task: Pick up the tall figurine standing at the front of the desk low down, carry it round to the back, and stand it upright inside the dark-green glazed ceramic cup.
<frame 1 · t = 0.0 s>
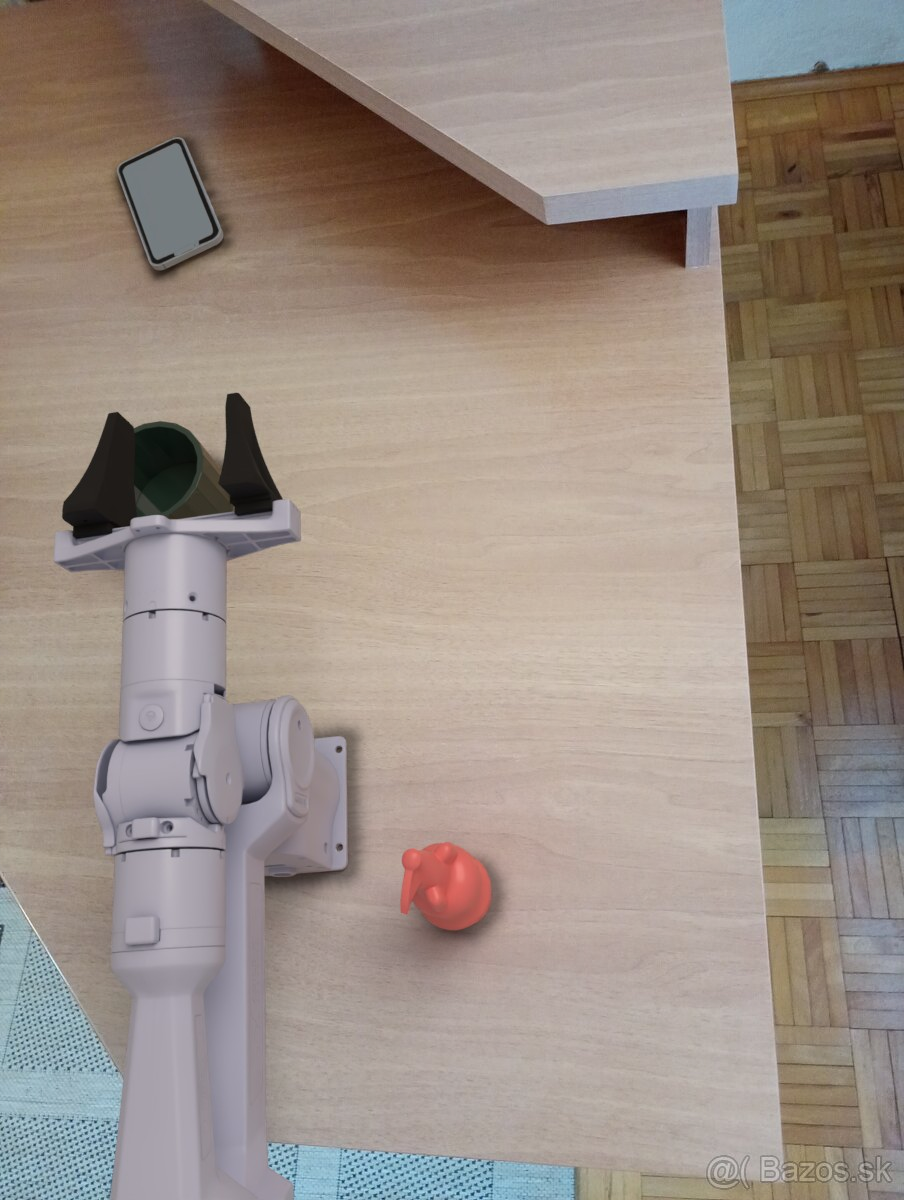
hand: (179, 410, 65), 22 cm above the table, tool horizontal, fingers open, 7 cm apart
figurine: (464, 898, 72), on the table
cup: (183, 508, 89), on the table
smartphone: (171, 207, 102), on the table
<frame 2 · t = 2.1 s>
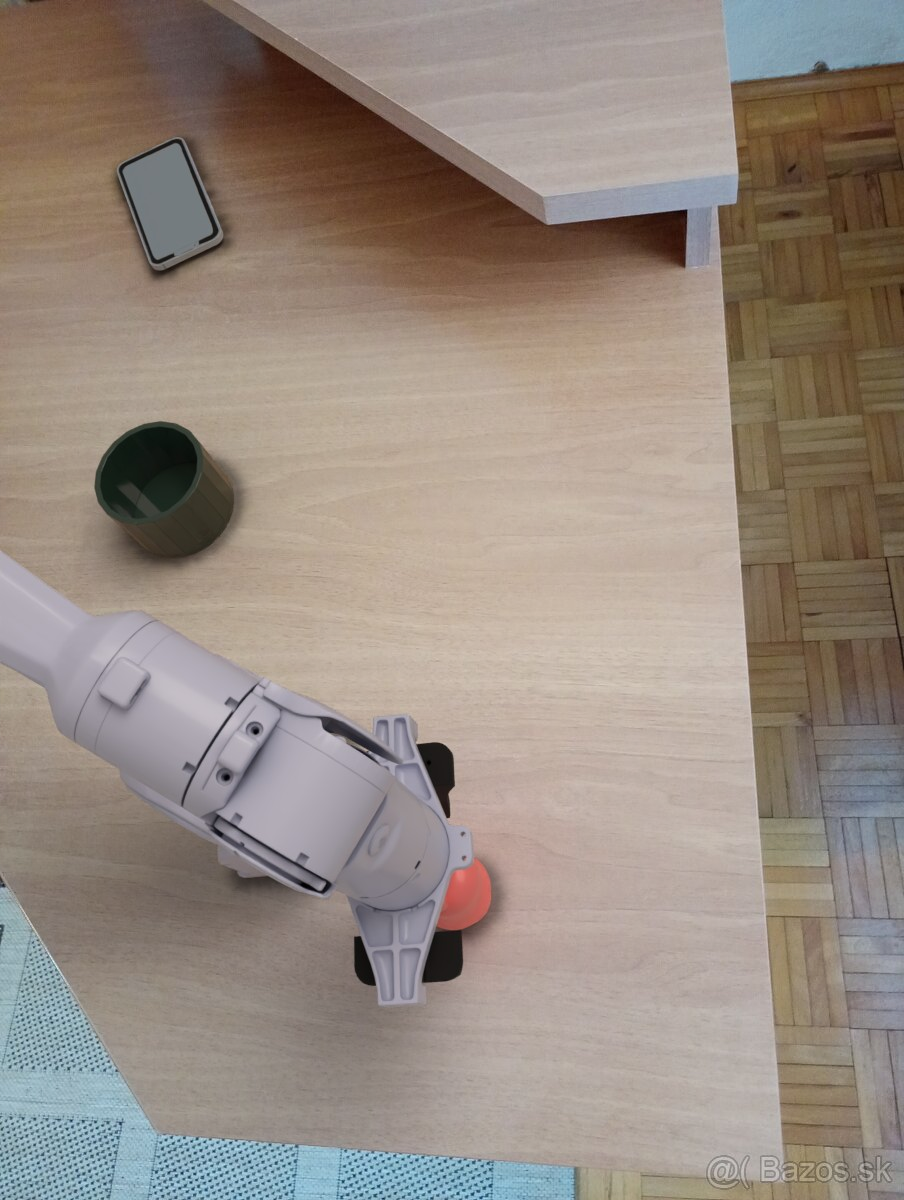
hand: (435, 879, 62), 10 cm above the table, tool pointing down, fingers open, 7 cm apart
nothing on the table moved.
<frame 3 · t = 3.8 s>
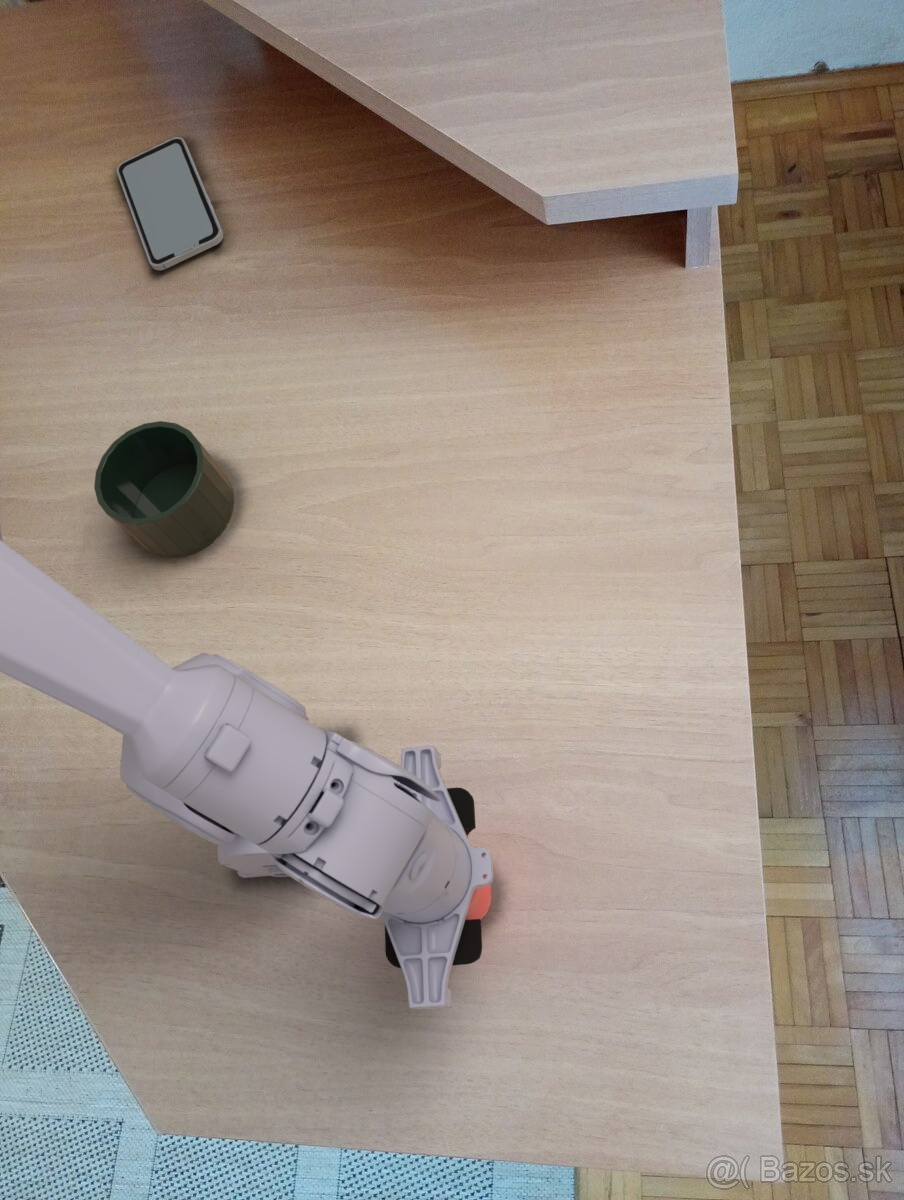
hand: (454, 891, 69), 3 cm above the table, tool pointing down, fingers closed on figurine, 5 cm apart
figurine: (464, 899, 72), on the table, touching gripper
everything else where it was.
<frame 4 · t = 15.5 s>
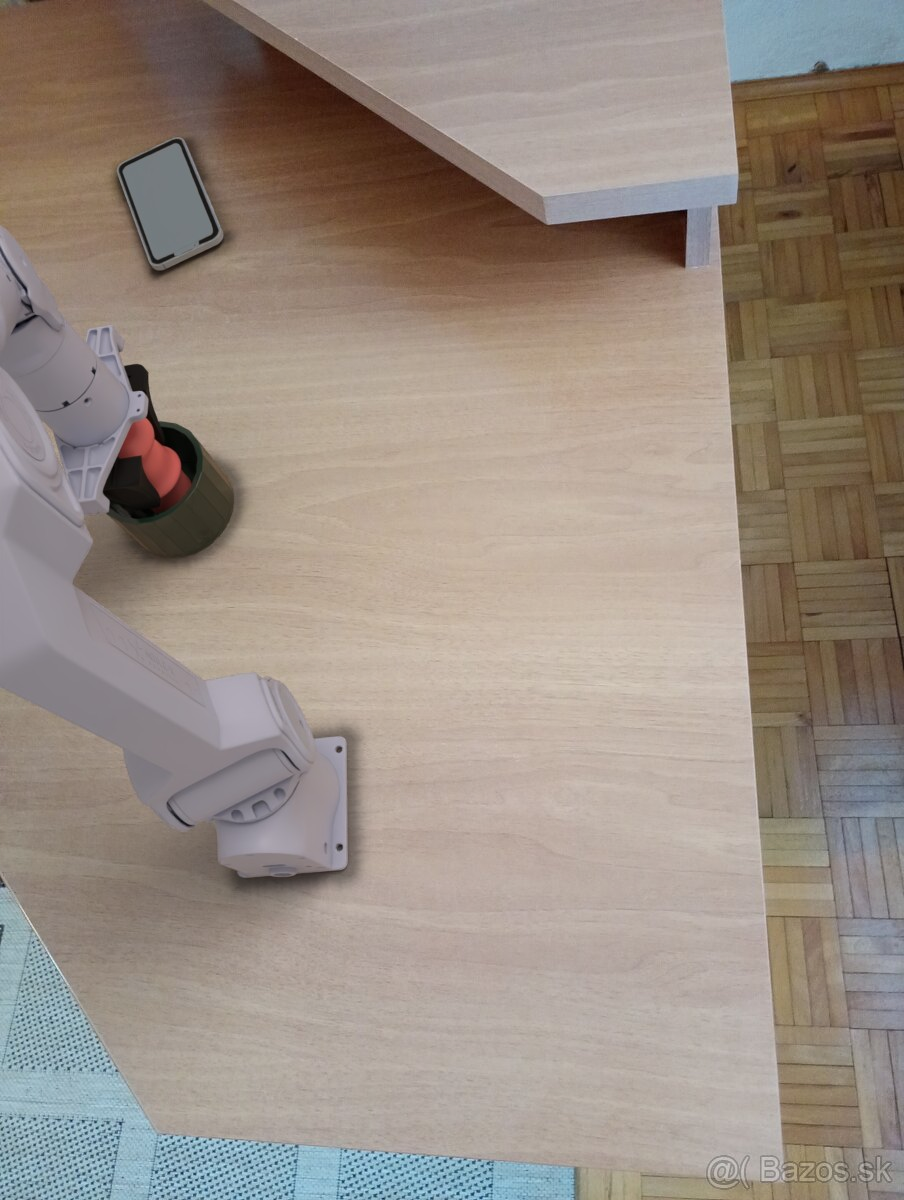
hand: (150, 474, 83), 6 cm above the table, tool pointing down, fingers closed on figurine, 5 cm apart
figurine: (171, 495, 86), point 3 cm above the table, touching gripper
everything else where it was.
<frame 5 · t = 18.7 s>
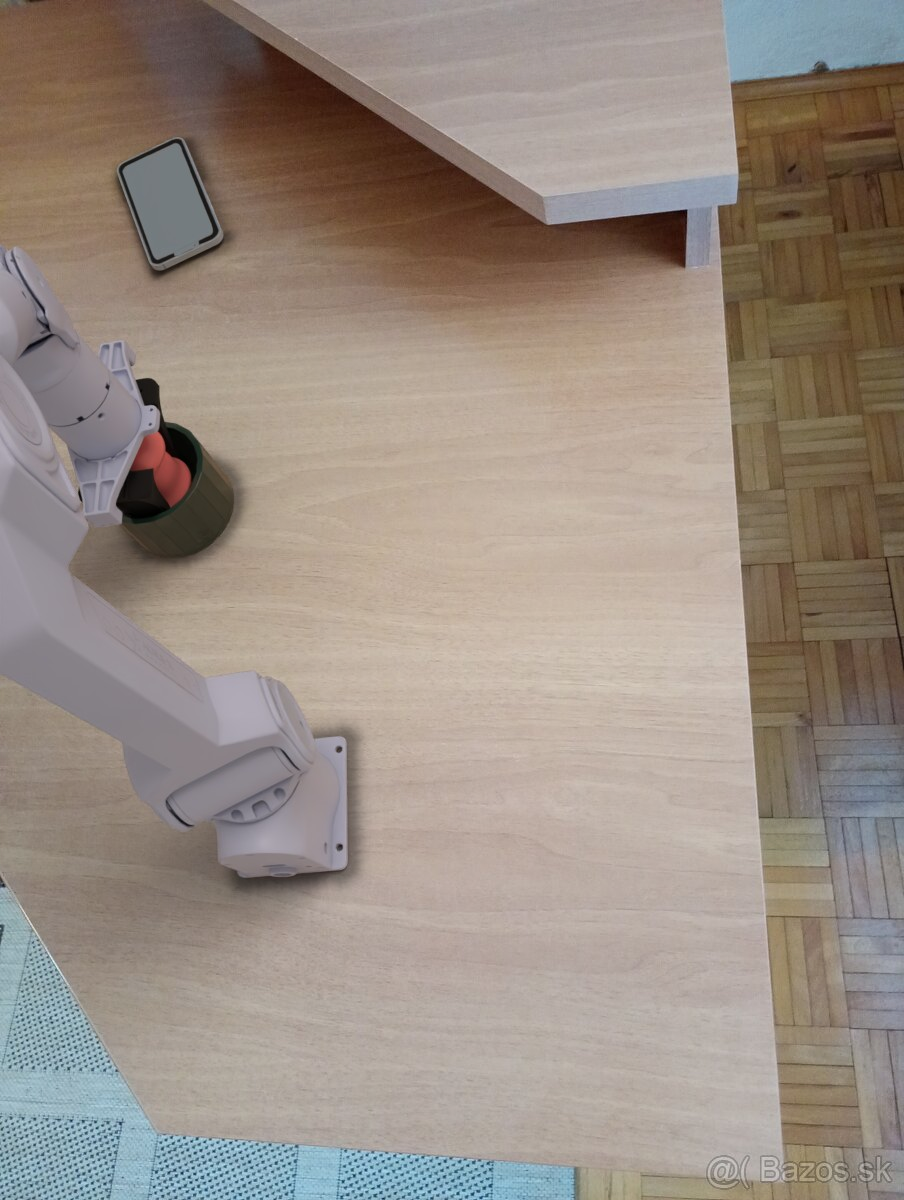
hand: (161, 485, 85), 4 cm above the table, tool pointing down, fingers closed on figurine, 5 cm apart
figurine: (180, 505, 88), point 1 cm above the table, touching gripper
everything else where it was.
when the fingers open (7 cm above the table, at t = 27.2 s): figurine drops 3 cm, resting on cup.
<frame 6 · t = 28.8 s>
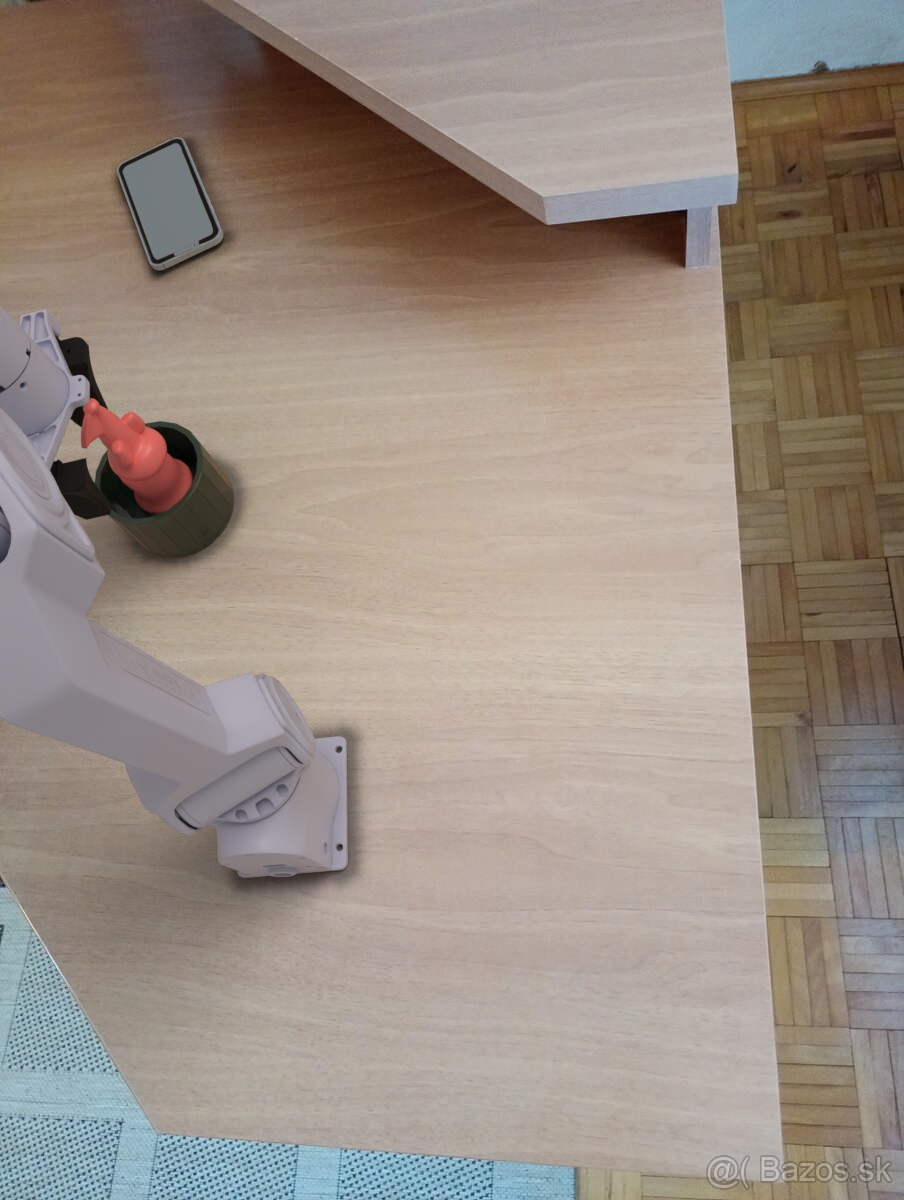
hand: (98, 467, 79), 10 cm above the table, tool pointing down, fingers open, 7 cm apart
figurine: (182, 506, 88), resting on cup
everything else where it was.
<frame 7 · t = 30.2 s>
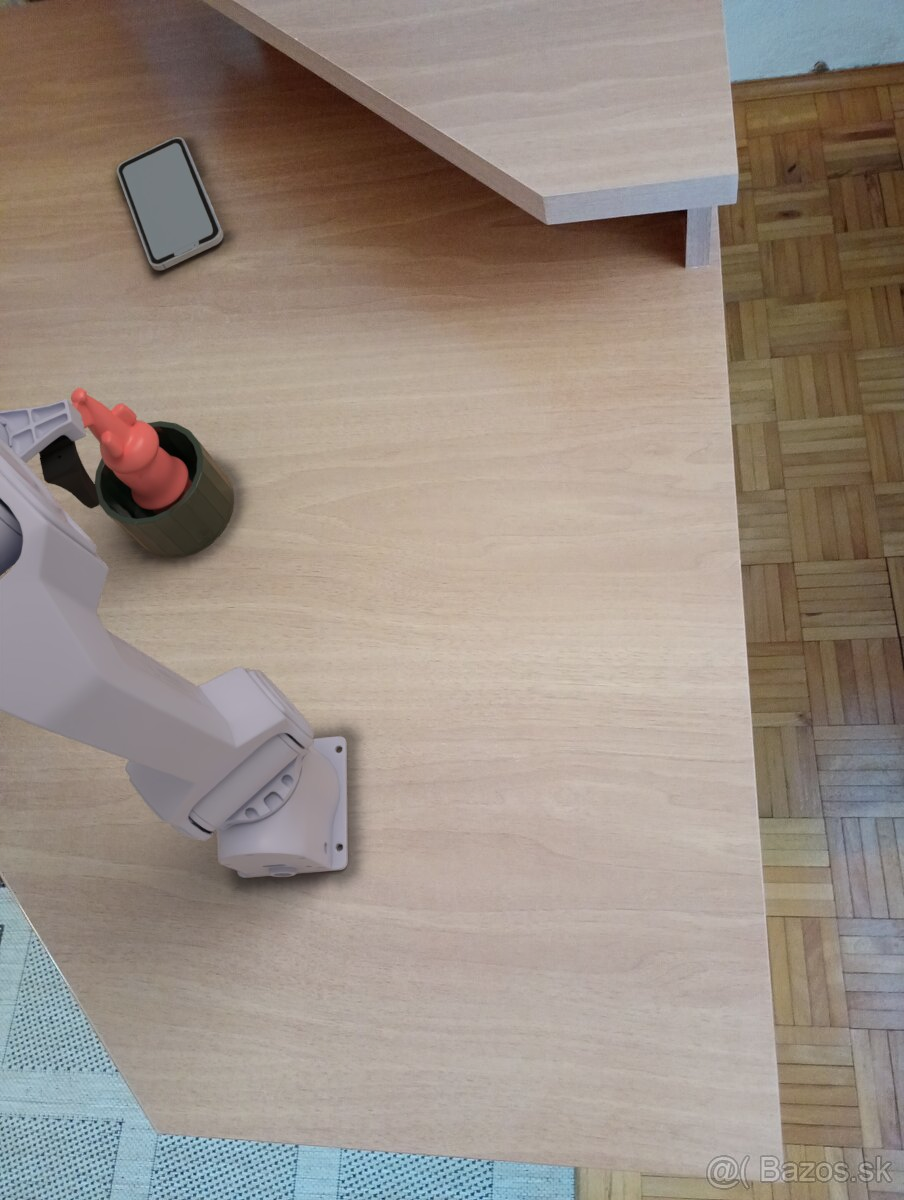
hand: (45, 516, 78), 10 cm above the table, tool pointing down, fingers open, 7 cm apart
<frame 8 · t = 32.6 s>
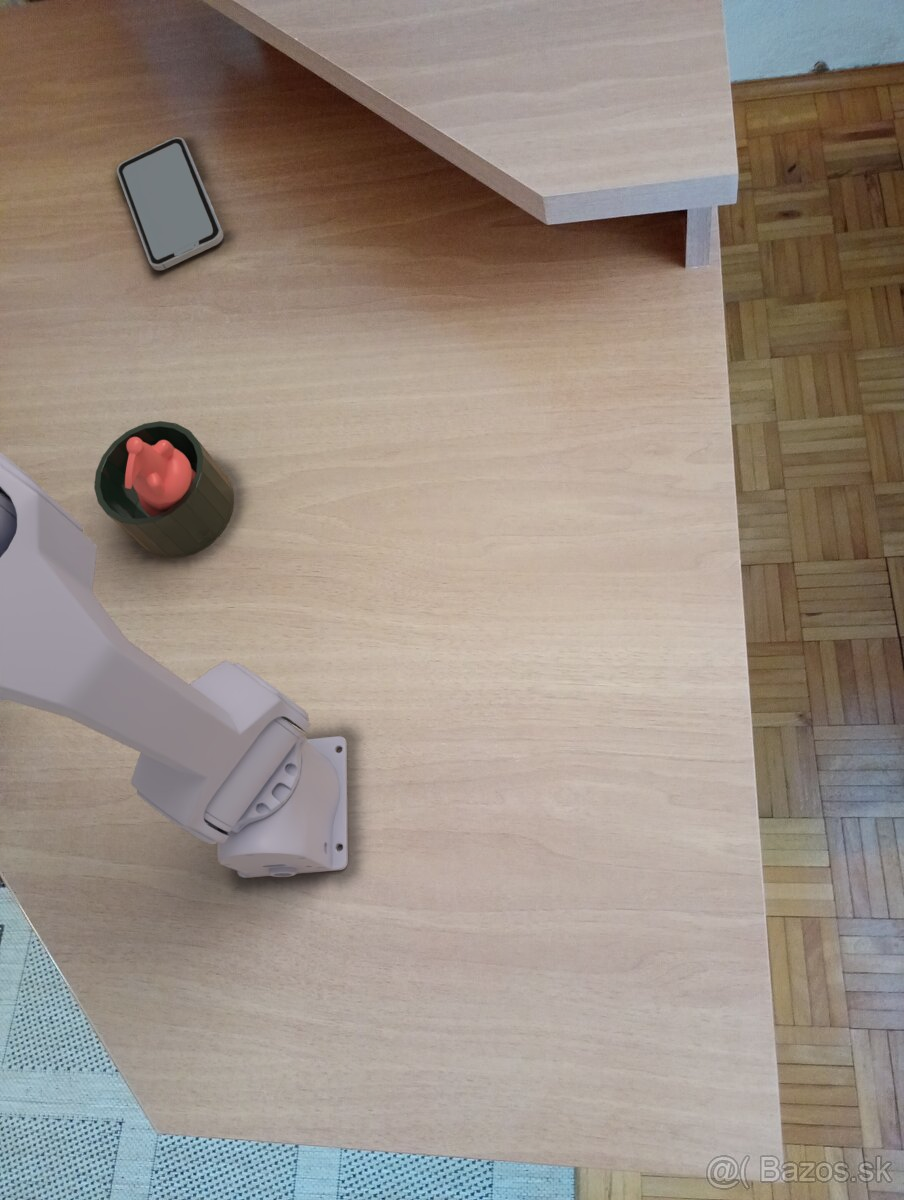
at the end: figurine 0.1 cm off-centre in the cup, point 0.9 cm above the cup's base; figurine tilted 20°; the gripper is holding nothing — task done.
